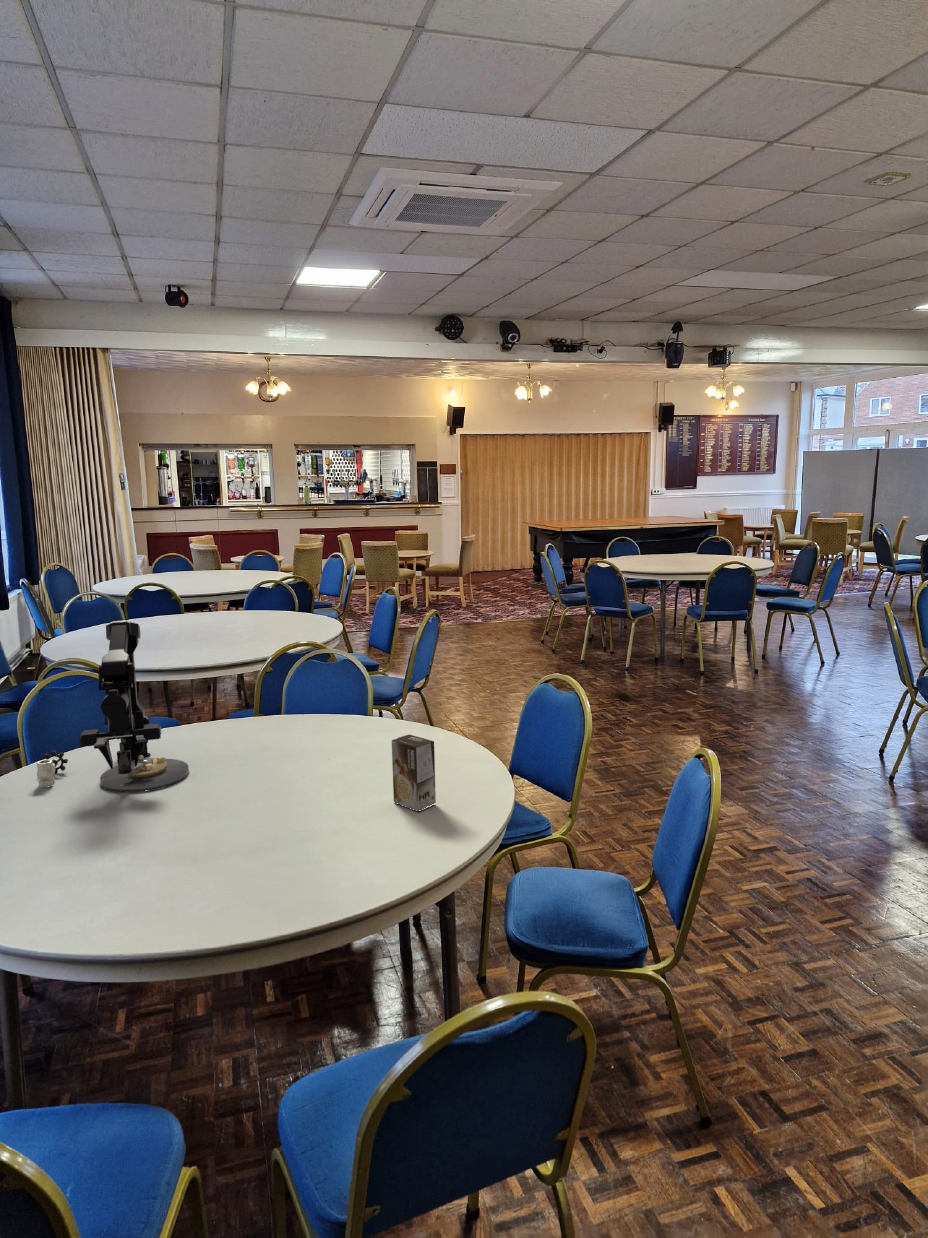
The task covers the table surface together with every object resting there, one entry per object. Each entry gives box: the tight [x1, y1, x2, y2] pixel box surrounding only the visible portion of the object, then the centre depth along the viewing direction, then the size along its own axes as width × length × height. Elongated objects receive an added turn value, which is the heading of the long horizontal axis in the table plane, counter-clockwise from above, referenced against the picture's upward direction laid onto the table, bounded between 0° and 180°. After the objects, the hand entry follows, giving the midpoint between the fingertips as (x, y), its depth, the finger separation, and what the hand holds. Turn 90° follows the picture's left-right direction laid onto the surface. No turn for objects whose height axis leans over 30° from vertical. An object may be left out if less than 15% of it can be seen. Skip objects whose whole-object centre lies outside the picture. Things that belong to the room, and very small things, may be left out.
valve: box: [36, 749, 69, 788], centre depth 209 cm, size 7×7×12 cm
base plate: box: [99, 758, 190, 793], centre depth 210 cm, size 22×22×2 cm
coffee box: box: [391, 734, 437, 811], centre depth 188 cm, size 9×6×16 cm
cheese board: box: [116, 749, 167, 778], centre depth 207 cm, size 11×16×8 cm
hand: (124, 767), depth 201 cm, fingers open, 5 cm apart
